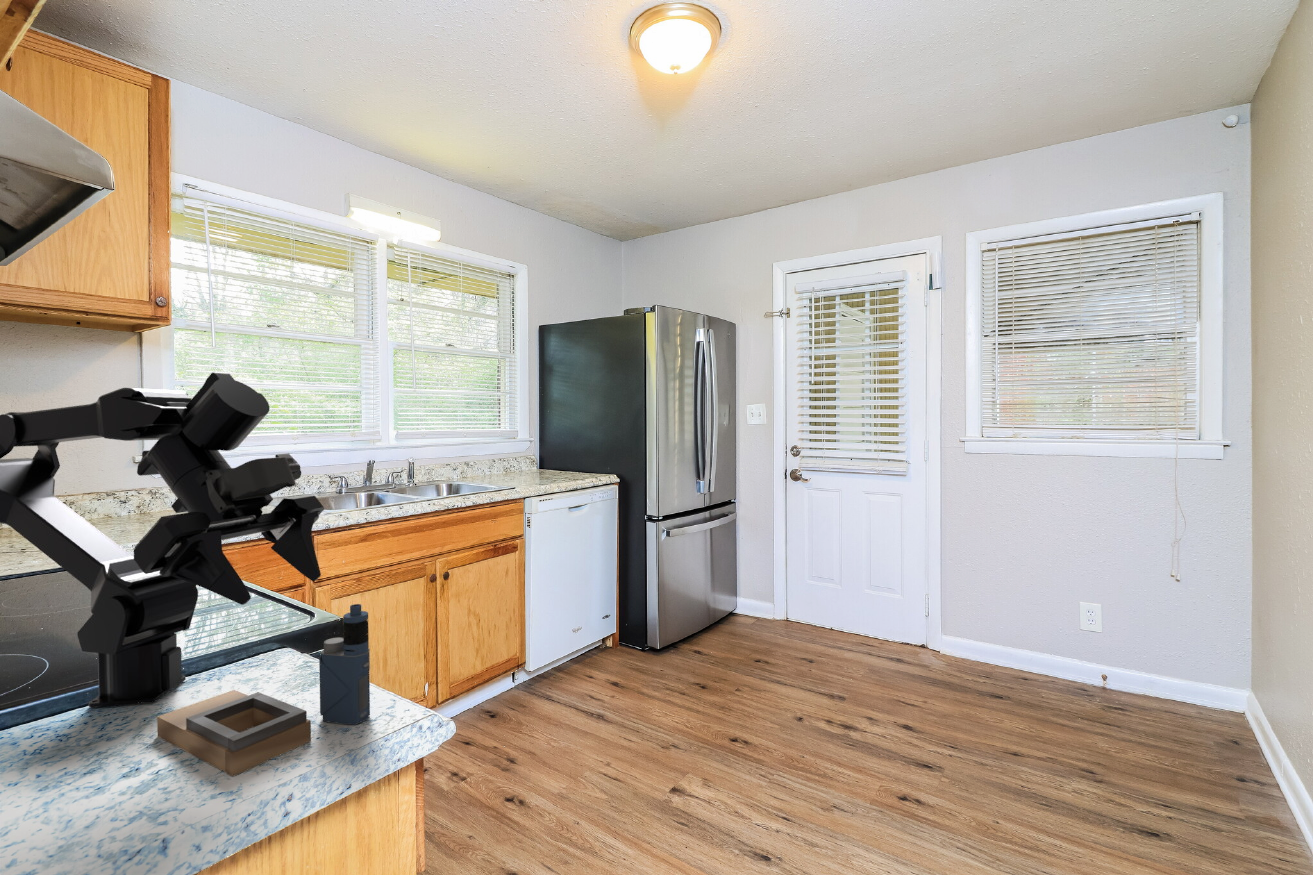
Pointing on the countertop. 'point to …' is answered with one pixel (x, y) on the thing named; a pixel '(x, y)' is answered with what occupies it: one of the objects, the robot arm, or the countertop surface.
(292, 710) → the walnut socket board
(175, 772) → the countertop surface
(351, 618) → the vaping device
